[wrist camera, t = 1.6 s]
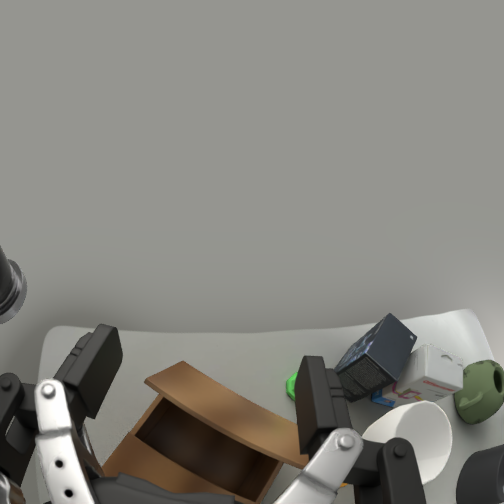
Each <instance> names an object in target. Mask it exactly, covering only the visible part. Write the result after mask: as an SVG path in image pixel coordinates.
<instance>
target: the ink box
mask: <svg viewBox="0 0 504 504" xmlns="http://www.w3.org/2000/svg"><path fill="white" fill-rule="evenodd" d="M461 389H463V360H462V358H461V357H458V356H456V355H454V354H451V353H449V352H447V351H445V350H443V349H441V348H438V347H436V346H434V345H432V344H429V345H427V344H424V345H423V346H421V347H420V348H418V349H417V350H415V351H414V352H412V353H411V354H410V355H409V357H408V359H407V361H406V364H405V366H404V368H403V370H402V372H401V375H400V377H399V380H398V381H396V382H394V383H392V384H391V385H389V386H387V387H384V388H383V389H381V390H378V391H376V392H374V393H372V402H376V403H379V404H383V405H387V406H390V407H394V408H397V407H399V406H402V405H407V404H411V403H416V402H420V401H424V400H426V401H429V402H435V401H437V400H439V399H442V398H444V397H446V396H448V395H451V394H453V393H455V392H457V391H459V390H461Z"/></svg>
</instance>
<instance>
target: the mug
mask: <svg viewBox="0 0 504 504" xmlns="http://www.w3.org/2000/svg"><path fill="white" fill-rule="evenodd" d="M454 399H455V404H456V408H457V410H458V413H459V415H460V416H461V417H462V418H463V420H464V421H465V422H466V423H470V424H477V423H481V422H483V421H485V420H486V419H488V418H489V417H491V416H492V415H494V414H495V413H496V412H497V411H498V410H499V408H500V407H501V406H502V404H503V402H504V371H503V369H502V367H501V366H500V365H499V364H498V363H496V362H494V361H492V360H484V361H479V362H476V363H473V364H470V365H468V366H467V367H466V368H465V369H464V370H463V389H461V390H459V391H457V392H455V393H454Z"/></svg>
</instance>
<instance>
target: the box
mask: <svg viewBox="0 0 504 504" xmlns="http://www.w3.org/2000/svg"><path fill="white" fill-rule="evenodd" d="M416 340H417V336H416V335H414V334H413V333H412V332H411V331H410V330H409V329H408V328H407V327H406V326H405V325H404V324H402V323H401V322H400V321H399V320H398V319H397V318H396V317H395V316H393V315H392V314H391V313H389V314H388V315H387V316H386V317H384V318H383V319H382V320H381V321H380V322H379V323H378V324H376V325H375V326H374V327H373V328H372V329H371V330H370V331H368V332H367V333H366V334H365V335H364V336H363V337H361V338H360V339H359V340H358V341H357V342H355V343H354V344H353V345H352V346H351V347H350V348H349V350H348V351H347V352H346V354H345V355H344V357H343V358H342V359H341V361H340V362H339V363H338V365H337V366H336V367H335V369H334V371H335V372H336V374H337V375H338V376H339V377H340V381H341V385H342V390H343V392H344V397H345V398H346V399H347V400H349V401H350V402H351V403H352V402H355V401H357V400H359V399H361V398H364V397H366V396H368V395H370V394H372V393H374V392H376V391H378V390H381V389H383V388H384V387H387V386H389V385H391V384H392V383H394V382H396V381H398V380H399V377H400V375H401V372H402V370H403V368H404V366H405V364H406V361H407V359H408V357H409V355H410V353H411V351H412V348H413V346H414V344H415V342H416Z"/></svg>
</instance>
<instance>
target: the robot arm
mask: <svg viewBox="0 0 504 504" xmlns="http://www.w3.org/2000/svg"><path fill="white" fill-rule="evenodd" d="M16 283H17V277H16V273H15V271H14V269H13V268H12V266H11V265H10V263H9V262H8V260H7V258H6V256H5V254H4V252H3V250H2V248H1V246H0V309H1V308H2V307H3V306H5V305H6V304H7V303H8V302H9V300H10V299H11V297H12V296H13V294H14V291H15V288H16ZM122 358H123V352H122V348H121V343H120V339H119V334H118V330H117V328H116V327H112V326H108V325H104V324H99V325H98V326H97V328H96V329H95V331H94V332H93V333H90V332H88V333H87V334H86V335H84V336H83V337H81V338H80V339H79V341H78V342H77V343H76V345H75V348H73V349H72V351H71V352H70V354H69V355H68V356H67V358H66V359H65V361H64V362H63V364H62V365H61V367H60V368H59V370H58V371H57V373H56V374H55V376H54V377H53V378H48V379H44V380H42V381H40V382H39V383H38V384H37V385H34V384H25V383H21V382H20V380H19V378H18V377H17V376H16V375H15V374H13V373H5V374H2V375H1V376H0V504H25V503H26V501H25V498H24V497H23V493H22V491H21V489H20V487H21V484H22V481H23V478H24V475H25V472H26V469H27V467H28V464H29V461H30V458H31V456H32V454H33V451H34V449H35V446H36V447H37V452H38V457H39V461H40V465H41V469H42V473H43V477H44V480H45V484H46V487H47V490H48V493H49V496H50V499H51V501H48V502H46V503H44V504H244V503H242V502H239V501H236V500H235V495H225V494H216V493H208V492H198V493H172V492H170V491H168V490H165V489H163V488H161V487H159V486H157V485H155V484H153V483H151V482H149V481H147V480H145V479H141V478H138V477H134V476H131V475H128V474H125V473H122V472H119V473H118V476H117V477H116V476H114V477H106V476H105V474H104V472H103V470H102V468H101V466H100V465H99V463H98V461H97V459H96V457H95V454H94V451H93V449H92V446H91V443H90V440H89V437H88V434H87V430H86V427H85V424H84V420H85V418H86V416H87V417H90V418H92V419H95V417H96V415H97V413H98V411H99V409H100V407H101V404H102V402H103V400H104V398H105V396H106V394H107V392H108V390H109V388H110V386H111V383H112V381H113V379H114V377H115V375H116V373H117V371H118V369H119V367H120V365H121V363H122ZM294 394H295V404H296V415H297V425H298V436H299V448H300V455H308V458H309V462H308V463H307V465H306V466H305V467H304V468H303V470H302V471H301V472H300V473H299V474H298V476H297V477H296V478H295V479H294V480H293V481H292V483H291V484H290V485H289V486H288V487H287V488H286V489H285V491H284V492H283V493H282V494H281V495H280V496H279V497H278V498H277V499H276V500H275V501H274V502H273V503H272V504H332V502H333V501H334V499H335V498H336V496H337V490H338V489H339V487H340V486H341V484H342V483H347V484H353V486H354V496H355V504H426V499H425V494H424V489H423V485H422V480H421V476H420V472H419V468H418V464H417V460H416V456H415V452H414V448H413V446H412V444H411V443H410V442H409V441H408V440H406V439H404V438H400V437H395V438H392V439H390V440H388V441H387V442H386V443H380V442H374V441H368V440H365V439H363V438H362V437H361V436H360V435H359V433H357V432H356V431H355V430H353V428H352V425H351V421H350V417H349V412H348V408H347V404H346V400H345V398H344V392H343V390H342V385H341V381H340V377H339V376H338V375H337V374H336V372H335V371H334V370H333V369H326V368H325V364H324V360H323V357H322V356H304V357H303V359H302V362H301V365H300V368H299V371H298V373H297V376H296V379H295V384H294ZM13 416H15V418H14V420H13V422H12V424H11V426H10V428H9V430H8V432H7V435H6V436H5V434H6V430H7V428H8V426H9V424H10V422H11V420H12V418H13Z"/></svg>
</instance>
